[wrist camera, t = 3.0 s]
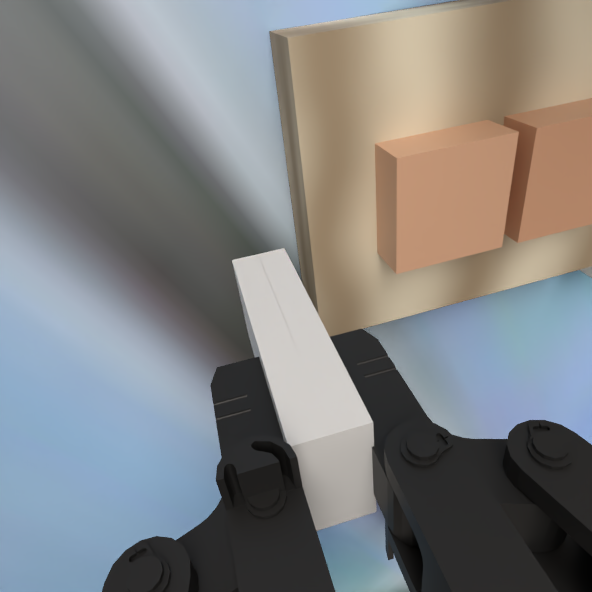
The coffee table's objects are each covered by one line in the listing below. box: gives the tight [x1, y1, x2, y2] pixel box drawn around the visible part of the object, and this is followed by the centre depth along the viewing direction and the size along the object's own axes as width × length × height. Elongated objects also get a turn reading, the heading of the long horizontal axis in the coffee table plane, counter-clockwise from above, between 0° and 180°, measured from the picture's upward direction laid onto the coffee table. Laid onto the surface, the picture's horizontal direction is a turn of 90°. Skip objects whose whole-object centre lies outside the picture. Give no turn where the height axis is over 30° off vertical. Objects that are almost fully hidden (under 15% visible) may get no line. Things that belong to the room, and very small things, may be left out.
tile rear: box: [503, 98, 592, 243], centre depth 19 cm, size 4×4×2 cm
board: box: [269, 0, 592, 337], centre depth 20 cm, size 14×12×2 cm
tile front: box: [375, 120, 519, 274], centre depth 18 cm, size 4×4×2 cm
